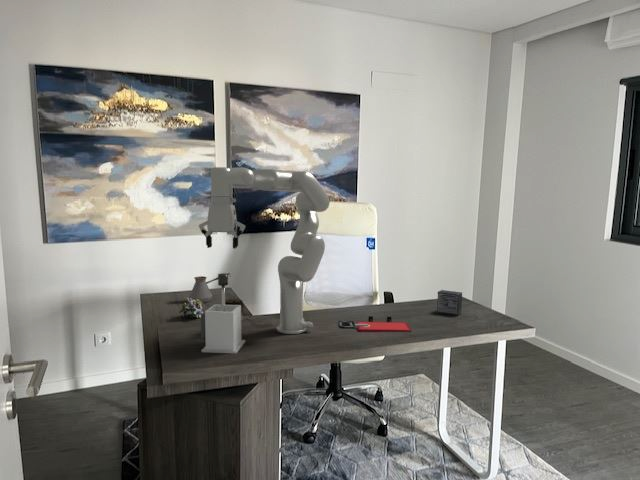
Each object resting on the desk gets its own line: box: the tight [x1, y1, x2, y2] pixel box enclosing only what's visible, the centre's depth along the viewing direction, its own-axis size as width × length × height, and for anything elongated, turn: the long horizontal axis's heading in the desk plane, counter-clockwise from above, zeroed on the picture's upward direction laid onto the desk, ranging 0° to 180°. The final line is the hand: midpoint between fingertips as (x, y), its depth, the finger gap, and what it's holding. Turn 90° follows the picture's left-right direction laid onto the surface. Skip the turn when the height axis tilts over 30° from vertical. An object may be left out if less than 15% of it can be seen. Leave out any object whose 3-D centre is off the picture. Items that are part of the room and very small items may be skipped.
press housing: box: [200, 304, 246, 355], centre depth 177 cm, size 15×13×15 cm
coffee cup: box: [225, 298, 245, 324], centre depth 197 cm, size 9×8×13 cm
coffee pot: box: [189, 272, 231, 304], centre depth 248 cm, size 21×12×15 cm, turn 97°
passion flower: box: [178, 296, 204, 319], centre depth 217 cm, size 11×11×12 cm
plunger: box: [217, 272, 229, 312], centre depth 176 cm, size 8×8×20 cm
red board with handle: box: [338, 315, 412, 333], centre depth 206 cm, size 30×3×15 cm
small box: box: [436, 289, 463, 316], centre depth 229 cm, size 11×6×10 cm, turn 58°
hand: (222, 247), depth 174 cm, fingers open, 9 cm apart
